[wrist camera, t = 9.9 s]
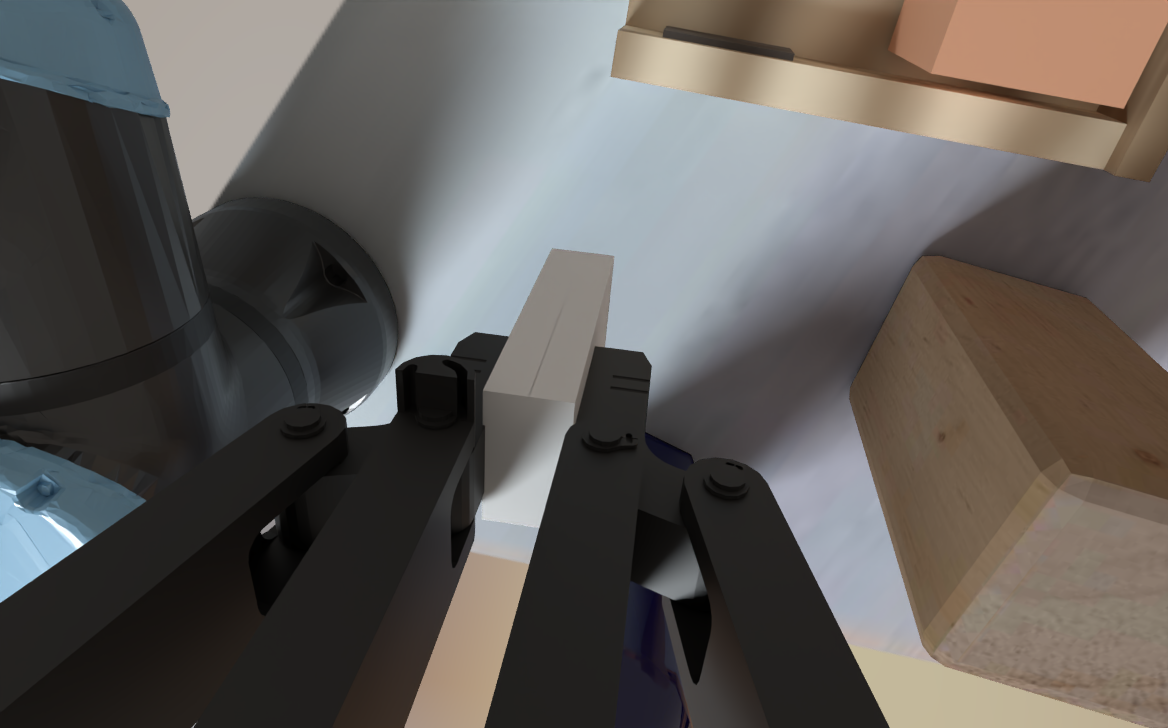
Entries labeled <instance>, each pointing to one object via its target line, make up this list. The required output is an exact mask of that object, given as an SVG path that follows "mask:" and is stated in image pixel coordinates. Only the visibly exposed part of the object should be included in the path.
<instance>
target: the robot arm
mask: <svg viewBox="0 0 1168 728" xmlns="http://www.w3.org/2000/svg"><path fill="white" fill-rule="evenodd" d="M166 117H170V109H169V106H168V104H166V103H165V102H164V101H163V100H162V99H161V96H160V93H159V90H158V87H157V83H156V80H155V77H154V74H153V71H152V67H151V64H150V61H149V58H148V54H147V51H146V48H145V45H144V42H143V38H142V35H141V32H140V29H139V26H138V24H137V22H136V20H135V18H134V16H133V14H132V13H131V11H130V10H129V8H128V7H127V6H126V5H125V3H124V2H123V1H122V0H0V728H191V727H192V726H193V725H194V724H195V723H196V722H197V723H196V725H195V726H194V728H404V726H405V724H406V721H407V718H408V716H409V713H410V710H411V708H412V705H413V702H414V699H415V697H416V694H417V691H418V689H419V686H420V684H421V681H422V678H423V676H424V673H425V670H426V668H427V665H428V662H429V660H430V657H431V654H432V651H433V649H434V646H435V643H436V641H437V638H438V635H439V633H440V630H441V627H442V625H443V622H444V619H445V617H446V614H447V611H448V609H449V606H450V603H451V601H452V598H453V595H454V593H455V590H456V587H457V584H458V582H459V579H460V576H461V574H462V571H463V568H464V565H465V563H466V560H467V558H468V555H469V552H470V550H471V547H472V544H473V542H474V536H475V515H476V512H477V510H478V507H479V504H480V502H481V499H482V519H483V520H489V521H496V522H503V523H509V524H516V525H522V526H529V527H536V528H539V531H538V535H537V539H536V542H535V546H534V549H533V553H532V557H531V560H530V564H529V568H528V572H527V575H526V579H525V583H524V586H523V589H522V593H521V597H520V601H519V604H518V608H517V611H516V615H515V619H514V622H513V626H512V629H511V633H510V637H509V641H508V644H507V648H506V651H505V655H504V658H503V662H502V666H501V669H500V673H499V678H498V680H497V684H496V688H495V692H494V695H493V698H492V702H491V706H490V709H489V713H488V717H487V720H486V724H485V728H615V719H616V709H617V700H618V690H619V681H620V672H621V662H622V653H623V643H624V634H625V625H626V615H627V606H628V596H629V587H630V581H632V582H634V583H636V584H639V585H641V586H643V587H645V588H648V589H650V590H652V591H655V592H657V593H659V594H661V595H662V606H663V610H664V614H665V618H666V622H667V626H668V630H669V634H670V638H671V642H672V646H673V650H674V654H675V658H676V662H677V666H678V670H679V674H680V678H681V682H682V686H683V690H684V694H685V698H686V702H687V706H688V710H689V714H690V718H691V722H692V726H693V728H889V725H888V723H887V721H886V720H885V717H884V715H883V713H882V711H881V709H880V708H879V706H878V703H877V701H876V699H875V697H874V695H873V693H872V691H871V689H870V687H869V685H868V683H867V681H866V679H865V677H864V675H863V674H862V672H861V669H860V668H859V665H858V663H857V662H856V659H855V658H854V655H853V654H852V651H851V649H850V647H849V645H848V643H847V641H846V639H845V637H844V635H843V633H842V631H841V629H840V627H839V625H838V623H837V621H836V619H835V617H834V615H833V613H832V611H831V609H830V607H829V605H828V603H827V601H826V599H825V597H824V595H823V593H822V591H821V589H820V587H819V585H818V583H817V581H816V579H815V577H814V575H813V573H812V571H811V569H810V567H809V565H808V563H807V561H806V559H805V557H804V555H803V553H802V551H801V549H800V547H799V545H798V543H797V541H796V539H795V537H794V535H793V533H792V531H791V529H790V527H789V525H788V523H787V521H786V519H785V517H784V515H783V513H782V511H781V509H780V507H779V505H778V503H777V501H776V499H775V497H774V495H773V493H772V491H771V489H770V487H769V485H768V484H767V482H766V481H765V480H764V479H763V477H762V476H761V475H760V474H759V473H758V472H757V471H755V470H753V469H752V468H750V467H749V466H747V465H745V464H742V463H740V462H737V461H734V460H731V459H722V458H709V459H702V460H699V461H697V462H695V463H693V464H691V465H690V466H689V467H688V469H687V470H686V471H684V470H681V469H679V468H676V467H674V466H672V465H669V464H667V463H665V462H663V461H662V460H660V459H659V458H658V457H656V456H655V455H654V454H653V453H652V452H651V451H650V450H649V448H648V446H647V444H646V442H645V426H646V416H647V406H648V397H649V387H650V378H651V368H652V366H651V364H650V363H649V361H648V360H647V358H646V356H645V355H644V353H643V352H636V351H628V350H621V349H613V348H606V347H605V340H606V331H607V321H608V312H609V302H610V292H611V283H612V273H613V263H614V256H610V255H602V254H594V253H586V252H577V251H569V250H561V249H553V248H552V250H551V252H550V254H549V256H548V258H547V260H546V262H545V264H544V266H543V268H542V270H541V272H540V274H539V276H538V278H537V280H536V282H535V285H534V287H533V289H532V291H531V293H530V295H529V297H528V299H527V301H526V303H525V305H524V307H523V309H522V311H521V313H520V315H519V317H518V319H517V321H516V323H515V326H514V328H513V330H512V332H511V334H510V336H509V337H508V336H501V335H493V334H485V333H478V332H475V333H473V334H471V335H470V336H468V337H466V338H465V339H463V340H462V341H460V342H458V344H457V346H456V347H455V349H454V351H453V352H452V354H451V356H447V355H428V356H421V357H416V358H413V359H411V360H408V361H406V362H403V363H402V364H401V365H400V366H399V367H398V368H396V369H395V374H396V391H397V407H398V412H397V414H396V415H395V417H394V418H393V420H392V421H391V423H389V424H385V425H378V426H367V427H350V428H347V423H346V418H345V415H347V414H349V413H350V412H352V411H353V410H355V409H356V408H357V407H358V406H360V405H361V404H362V403H363V402H364V401H365V400H366V399H367V398H368V397H369V396H370V395H371V394H372V393H373V391H374V390H375V389H376V388H377V386H378V385H379V384H380V383H381V381H382V380H383V379H384V377H385V376H386V374H387V372H388V371H389V369H390V367H391V365H392V362H393V359H394V356H395V352H396V347H397V338H398V326H397V318H396V312H395V308H394V304H393V301H392V298H391V295H390V292H389V290H388V287H387V285H386V283H385V281H384V279H383V277H382V276H381V274H380V272H379V270H378V269H377V267H376V266H375V264H374V263H373V261H372V260H371V259H370V257H369V256H368V255H367V254H366V253H365V251H364V250H363V249H362V248H361V247H360V246H359V245H358V244H357V243H356V242H355V241H354V240H353V239H352V238H351V237H350V236H349V235H348V234H347V233H345V232H344V231H343V230H342V229H341V228H339V227H338V226H336V225H335V224H334V223H332V222H331V221H329V220H328V219H326V218H324V217H323V216H321V215H319V214H317V213H315V212H313V211H311V210H309V209H307V208H304V207H302V206H299V205H296V204H293V203H290V202H286V201H282V200H277V199H270V198H245V199H238V200H234V201H230V202H227V203H224V204H222V205H220V206H218V207H216V208H214V209H212V210H210V211H208V212H206V213H204V214H202V215H200V216H198V217H196V218H194V219H193V220H192V219H191V215H190V211H189V207H188V204H187V199H186V196H185V192H184V188H183V184H182V180H181V176H180V172H179V168H178V164H177V160H176V156H175V152H174V148H173V144H172V140H171V136H170V132H169V128H168V123H167V119H166ZM273 519H275V523H276V525H274V526H273V527H272V528H271V529H270V530H269V531H268V532H266V533H264V534H261V533H260V532H261V530H262V529H263V528H264V527H265V526H266V525H268V524H269V523H270V522H271V521H272V520H273Z"/></svg>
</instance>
